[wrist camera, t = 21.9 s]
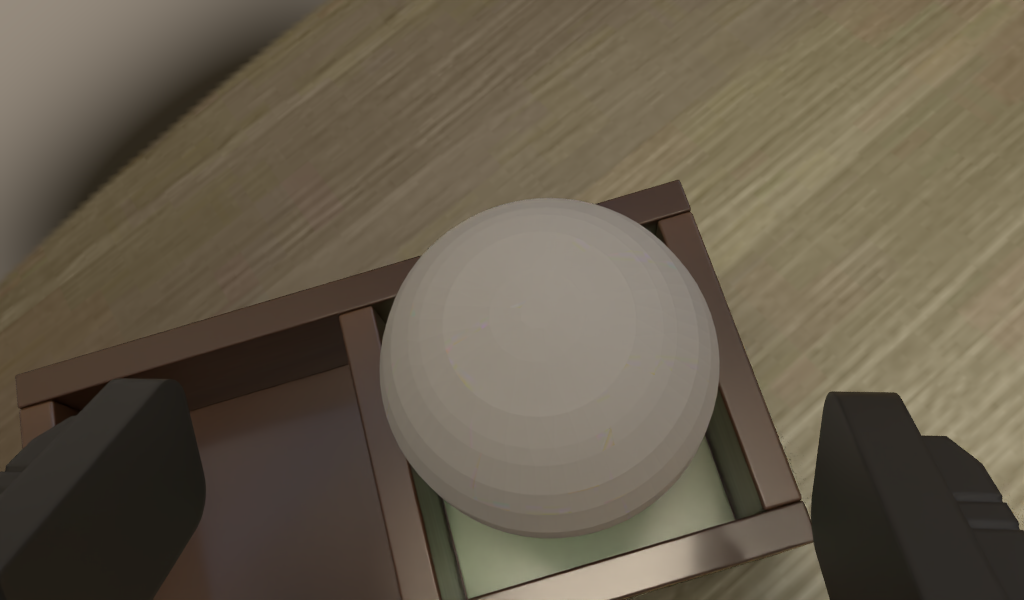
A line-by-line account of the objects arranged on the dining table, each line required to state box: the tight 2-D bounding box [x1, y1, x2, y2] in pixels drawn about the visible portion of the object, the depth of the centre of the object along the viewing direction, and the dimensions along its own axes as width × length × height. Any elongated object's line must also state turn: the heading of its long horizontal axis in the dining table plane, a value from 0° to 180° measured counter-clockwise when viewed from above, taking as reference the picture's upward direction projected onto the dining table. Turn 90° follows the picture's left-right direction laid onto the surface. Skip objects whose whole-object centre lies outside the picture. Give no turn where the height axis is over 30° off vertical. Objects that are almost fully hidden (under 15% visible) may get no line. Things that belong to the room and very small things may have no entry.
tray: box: [15, 180, 814, 600], centre depth 20 cm, size 8×15×4 cm, turn 106°
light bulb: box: [380, 198, 720, 538], centre depth 17 cm, size 5×5×10 cm
